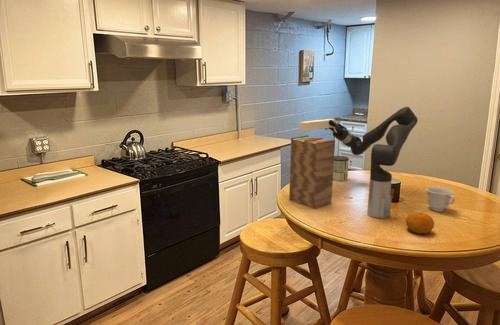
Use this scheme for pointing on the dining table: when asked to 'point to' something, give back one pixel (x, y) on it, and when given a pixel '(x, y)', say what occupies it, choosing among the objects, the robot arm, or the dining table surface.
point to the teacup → (439, 198)
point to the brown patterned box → (311, 171)
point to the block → (315, 124)
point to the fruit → (419, 222)
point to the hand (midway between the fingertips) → (326, 121)
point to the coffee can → (340, 168)
